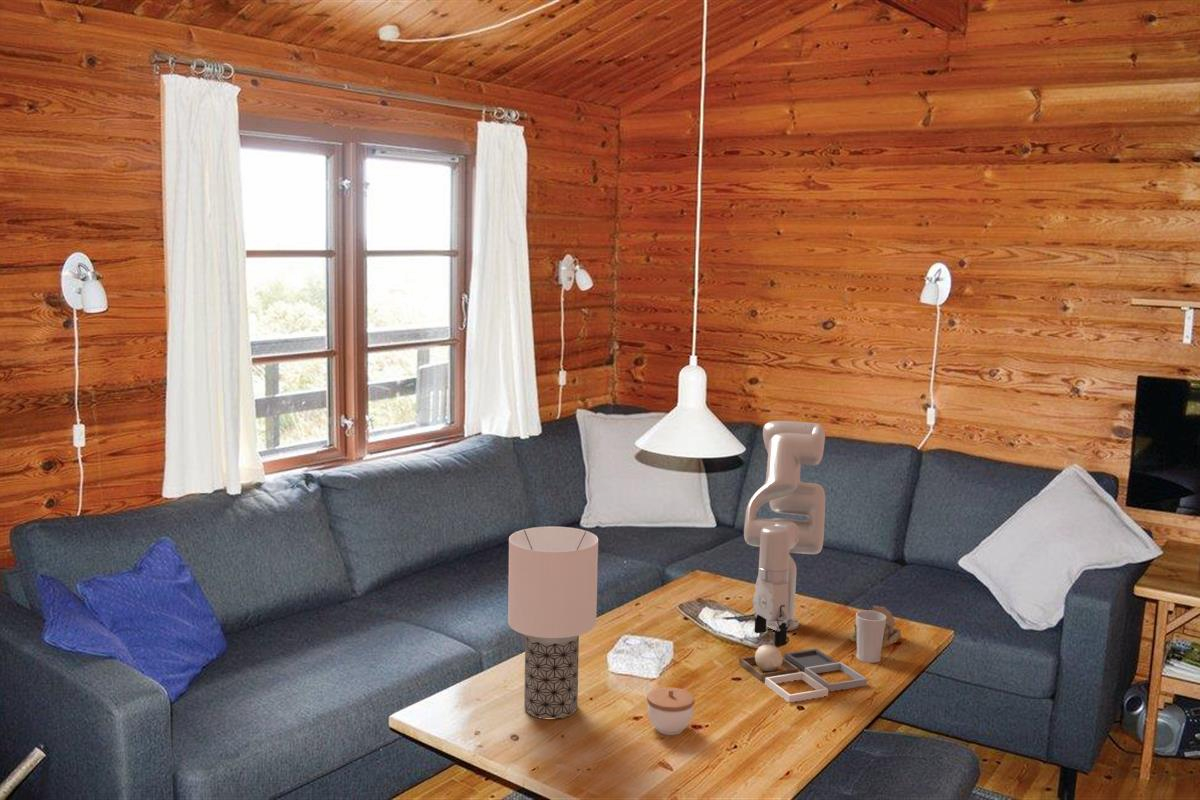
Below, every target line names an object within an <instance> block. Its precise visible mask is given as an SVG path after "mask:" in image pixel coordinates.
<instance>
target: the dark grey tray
mask: <svg viewBox="0 0 1200 800" xmlns="http://www.w3.org/2000/svg"><path fill="white" fill-rule="evenodd" d="M783 658H784V659H785V660H787V661H789V662H790V663H791V664H793V665H794V666H796V667H797V668H798V669H799V671H800V672H804V669H805V668H806V667H812V666H819V665H825V664H831V663H838V662H839V661H837V660H835V659H833V658H832V657H830V656H829V655H828V654H826V653H824V652H822V651H821V650H819V649H818V648H811V649H805V650H804V649H803V650H798V651H792V652H790V651H789V652H785V653H784V657H783Z"/></svg>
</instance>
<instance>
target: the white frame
mask: <svg viewBox="0 0 1200 800" xmlns="http://www.w3.org/2000/svg"><path fill="white" fill-rule="evenodd" d="M794 680H796V681H801V680H802V681H803V682H805V683H806V684H807V685H809V686H810V687H812V688H813V689H815V690H809V691H808V690H807V691H803V692H796V693H792V694H790V693H789V692H788V691H787V690H784V689H783V688H782V687H781V686H779V684H783V683H782V682H784V683H789V682H788V681H790V682H794ZM777 683H778V684H777ZM764 685H765V686H766V685H767V686H766V687H767V688H769V689H770V690H771V689H772V690H771V691H772V692H774V693H775V692H776V693H775V694H777V695H778V696H779V697H781V698H782V699H783V698H784V699H783V700H785V701H786V702H787V703H788V704H790V702H791V703H795V702H796V701H797V702H801V701H802V700H803V701H807V699H808V700H813V699H812V698H814V699H819V697H820V698H825V697H824V696H826V697H828V696H829V691H828V689H827V688H826V687H824V686H823V685H821V684H820V683H819V682H817V681H816V680H814V679H813V678H811V677H810V676H808V675H807V674H806V673H804V672H803V671H799V672H798V673H792V674H785V675H779V676H773V677H766V678H765V681H764Z"/></svg>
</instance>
